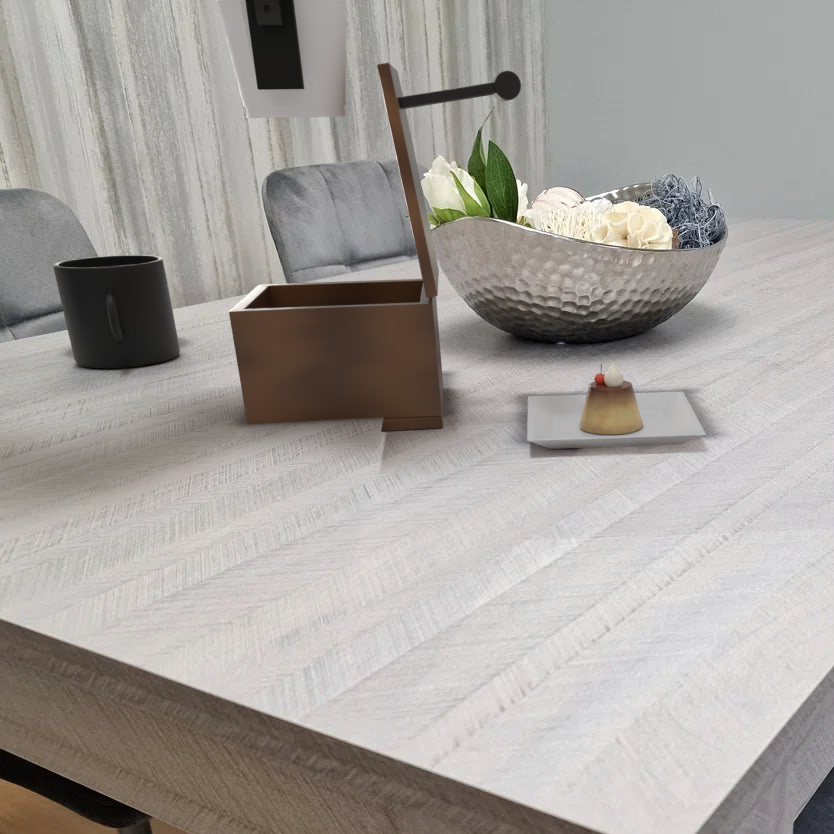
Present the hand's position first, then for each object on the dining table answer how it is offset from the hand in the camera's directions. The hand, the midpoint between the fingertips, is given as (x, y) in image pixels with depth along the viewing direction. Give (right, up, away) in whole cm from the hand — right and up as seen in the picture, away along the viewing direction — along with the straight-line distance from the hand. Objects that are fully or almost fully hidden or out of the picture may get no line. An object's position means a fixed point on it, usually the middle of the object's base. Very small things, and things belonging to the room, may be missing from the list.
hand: (292, 90), depth 69 cm
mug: (-25, -11, +31) cm, 41 cm away
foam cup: (0, -2, +1) cm, 2 cm away
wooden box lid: (+6, -3, +6) cm, 10 cm away
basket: (+1, -19, +13) cm, 23 cm away
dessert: (+21, -21, +7) cm, 31 cm away
